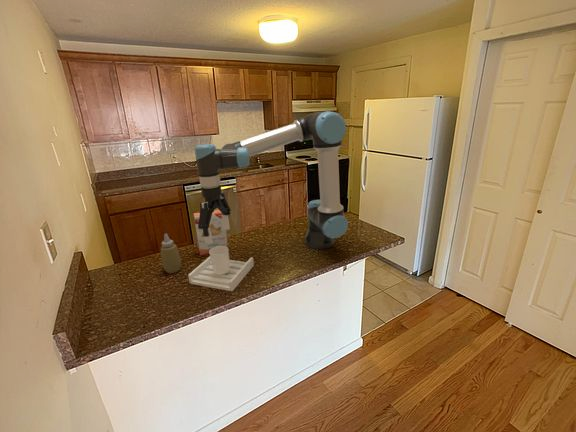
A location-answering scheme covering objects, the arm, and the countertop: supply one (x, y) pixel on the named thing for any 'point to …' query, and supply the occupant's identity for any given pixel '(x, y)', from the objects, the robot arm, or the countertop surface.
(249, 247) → the countertop surface
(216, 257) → the white cup
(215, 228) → the cracker box
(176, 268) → the squeeze bottle
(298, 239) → the countertop surface
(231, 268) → the drying rack
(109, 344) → the countertop surface
